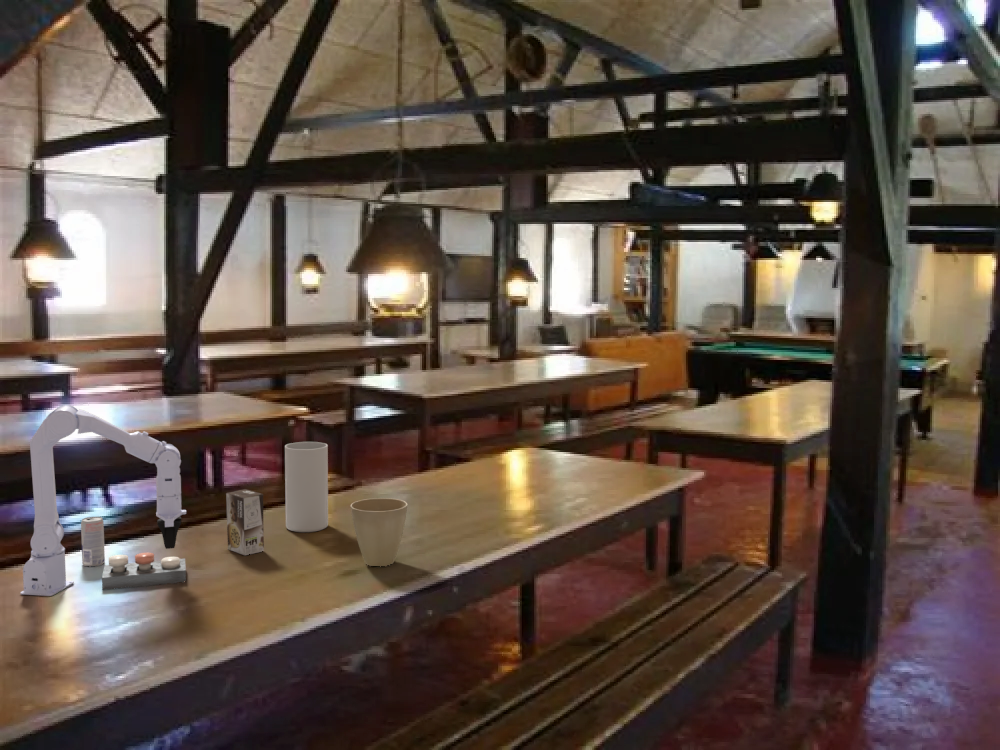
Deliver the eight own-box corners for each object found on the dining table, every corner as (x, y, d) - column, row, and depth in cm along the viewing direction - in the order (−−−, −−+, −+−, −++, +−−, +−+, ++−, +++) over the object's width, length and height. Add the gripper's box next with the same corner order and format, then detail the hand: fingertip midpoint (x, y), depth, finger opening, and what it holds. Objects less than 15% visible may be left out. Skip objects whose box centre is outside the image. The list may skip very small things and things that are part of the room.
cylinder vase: (333, 522, 283) (332, 442, 280) (321, 533, 270) (320, 450, 267) (293, 521, 284) (292, 441, 281) (280, 532, 271) (279, 448, 269)
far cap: (161, 578, 227) (161, 562, 227) (161, 573, 231) (161, 557, 231) (180, 577, 229) (179, 561, 228) (180, 571, 233) (179, 556, 232)
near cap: (108, 577, 223) (108, 560, 223) (109, 571, 227) (109, 555, 227) (128, 575, 225) (127, 559, 224) (128, 570, 229) (128, 554, 228)
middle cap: (135, 574, 225) (134, 558, 225) (135, 569, 229) (135, 553, 229) (154, 573, 227) (153, 557, 226) (154, 567, 231) (154, 551, 230)
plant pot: (415, 557, 249) (415, 499, 247) (394, 574, 235) (394, 513, 233) (364, 552, 253) (364, 495, 251) (341, 568, 239) (340, 508, 237)
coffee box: (265, 551, 253) (264, 493, 251) (244, 556, 248) (243, 497, 246) (247, 544, 259) (246, 488, 257) (226, 549, 254) (225, 492, 252)
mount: (102, 589, 220) (101, 577, 220) (105, 576, 230) (104, 565, 229) (185, 582, 227) (185, 570, 226) (185, 569, 236) (185, 558, 236)
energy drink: (98, 559, 243) (97, 515, 242) (108, 563, 240) (107, 518, 239) (78, 564, 239) (76, 519, 238) (88, 568, 236) (87, 522, 235)
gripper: (186, 500, 222) (187, 554, 224) (185, 486, 236) (186, 538, 237) (155, 502, 220) (156, 557, 221) (156, 488, 234) (157, 540, 235)
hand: (169, 547), depth 229 cm, fingers closed
